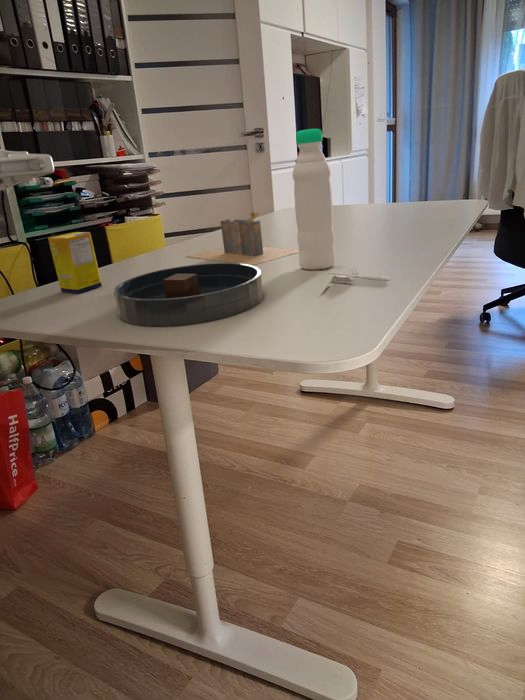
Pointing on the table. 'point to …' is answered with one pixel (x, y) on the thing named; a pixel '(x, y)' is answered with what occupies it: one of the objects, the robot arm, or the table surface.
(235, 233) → the architectural model on board
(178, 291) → the block
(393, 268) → the table surface
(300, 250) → the water bottle
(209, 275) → the bowl
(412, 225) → the table surface
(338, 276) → the picture light
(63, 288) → the supplement box
